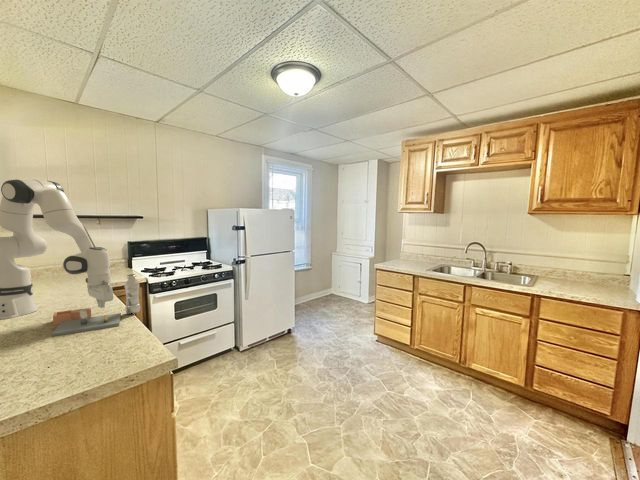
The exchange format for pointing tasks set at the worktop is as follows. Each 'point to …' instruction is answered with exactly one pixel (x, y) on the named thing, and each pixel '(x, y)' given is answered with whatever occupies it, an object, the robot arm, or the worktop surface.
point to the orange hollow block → (69, 315)
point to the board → (92, 324)
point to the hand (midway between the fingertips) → (101, 307)
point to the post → (84, 317)
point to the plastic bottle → (132, 294)
